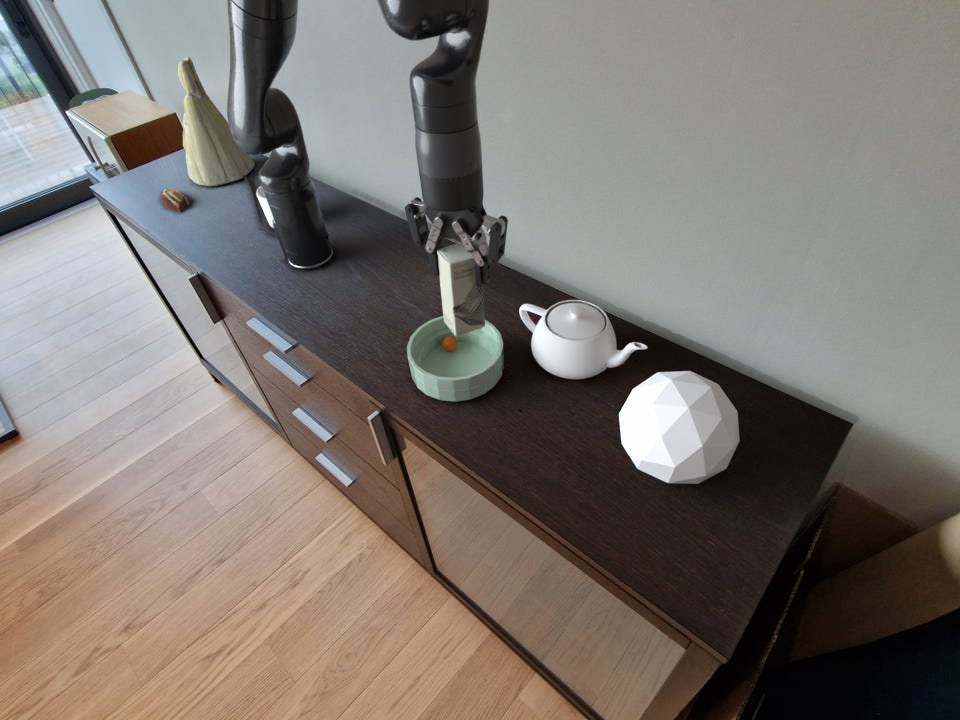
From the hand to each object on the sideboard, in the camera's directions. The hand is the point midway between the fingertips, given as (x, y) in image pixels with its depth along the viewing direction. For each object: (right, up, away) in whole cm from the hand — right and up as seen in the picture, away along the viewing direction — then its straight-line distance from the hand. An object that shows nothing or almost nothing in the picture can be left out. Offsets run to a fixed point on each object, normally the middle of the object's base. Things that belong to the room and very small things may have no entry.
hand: (460, 277), depth 73 cm
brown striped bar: (-76, +29, +62) cm, 103 cm away
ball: (-2, -9, +16) cm, 18 cm away
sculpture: (-68, +40, +73) cm, 107 cm away
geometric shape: (+29, -25, 0) cm, 38 cm away
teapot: (+19, -12, +14) cm, 26 cm away
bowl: (-1, -13, +14) cm, 19 cm away
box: (0, -6, +6) cm, 9 cm away
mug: (-41, +22, +53) cm, 71 cm away
